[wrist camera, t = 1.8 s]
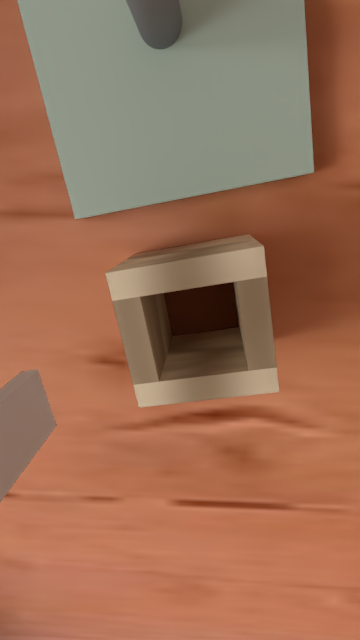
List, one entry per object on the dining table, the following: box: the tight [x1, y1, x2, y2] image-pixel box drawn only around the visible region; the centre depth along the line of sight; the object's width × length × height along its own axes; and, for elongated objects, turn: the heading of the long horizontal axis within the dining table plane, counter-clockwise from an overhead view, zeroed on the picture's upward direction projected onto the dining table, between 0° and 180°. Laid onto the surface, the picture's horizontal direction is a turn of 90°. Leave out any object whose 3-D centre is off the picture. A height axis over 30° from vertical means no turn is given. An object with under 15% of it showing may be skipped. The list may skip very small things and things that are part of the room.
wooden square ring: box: [105, 234, 279, 407], centre depth 21 cm, size 8×8×7 cm
